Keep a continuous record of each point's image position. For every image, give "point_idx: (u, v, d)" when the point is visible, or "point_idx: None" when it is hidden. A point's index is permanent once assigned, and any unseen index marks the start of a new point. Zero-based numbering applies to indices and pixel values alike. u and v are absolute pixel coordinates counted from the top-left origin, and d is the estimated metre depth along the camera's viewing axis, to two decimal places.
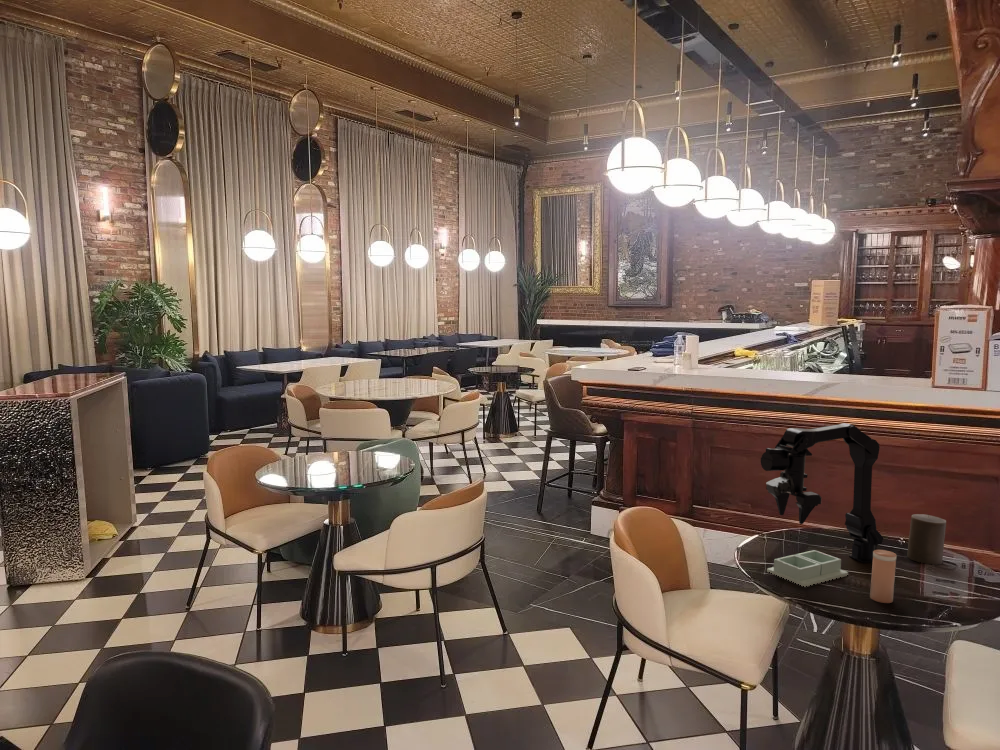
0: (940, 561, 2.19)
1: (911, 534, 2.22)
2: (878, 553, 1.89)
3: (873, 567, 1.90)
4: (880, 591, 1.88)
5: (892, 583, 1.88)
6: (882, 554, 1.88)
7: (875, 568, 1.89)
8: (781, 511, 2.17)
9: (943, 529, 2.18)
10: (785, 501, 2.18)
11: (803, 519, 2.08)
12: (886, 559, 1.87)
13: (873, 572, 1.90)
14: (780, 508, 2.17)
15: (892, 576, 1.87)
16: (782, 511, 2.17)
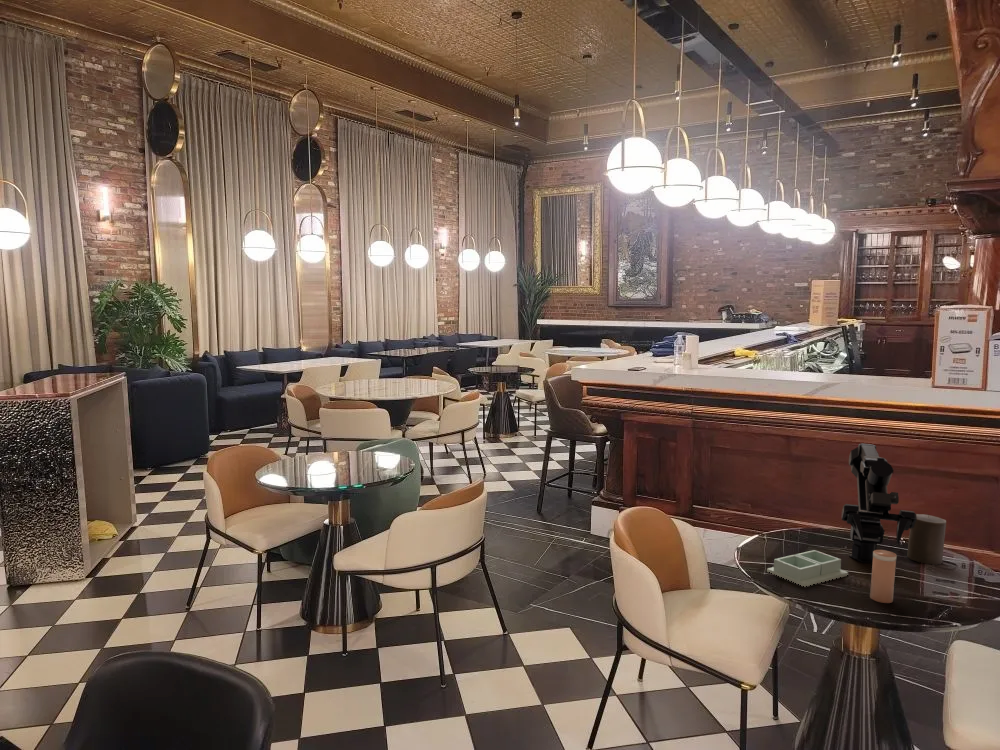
0: (940, 561, 2.19)
1: (911, 534, 2.22)
2: (878, 553, 1.89)
3: (873, 567, 1.90)
4: (880, 591, 1.88)
5: (892, 583, 1.88)
6: (882, 554, 1.88)
7: (875, 568, 1.89)
8: None
9: (943, 529, 2.18)
10: None
11: None
12: (886, 559, 1.87)
13: (873, 572, 1.90)
14: (862, 532, 1.99)
15: (892, 576, 1.87)
16: None
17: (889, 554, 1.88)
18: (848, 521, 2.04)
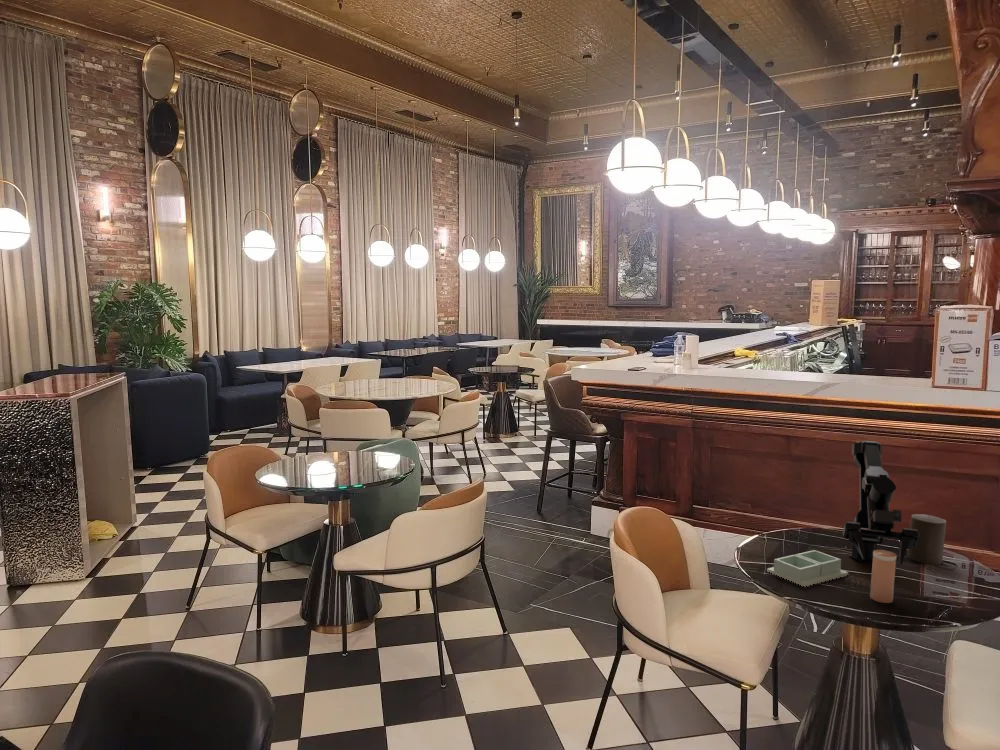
0: (940, 562, 2.19)
1: None
2: (878, 553, 1.89)
3: (873, 567, 1.90)
4: (880, 591, 1.88)
5: (892, 583, 1.88)
6: (882, 554, 1.88)
7: (875, 568, 1.89)
8: None
9: (943, 529, 2.18)
10: None
11: None
12: (886, 559, 1.87)
13: (873, 572, 1.90)
14: (864, 550, 1.94)
15: (892, 576, 1.87)
16: None
17: (889, 554, 1.88)
18: (850, 540, 2.00)
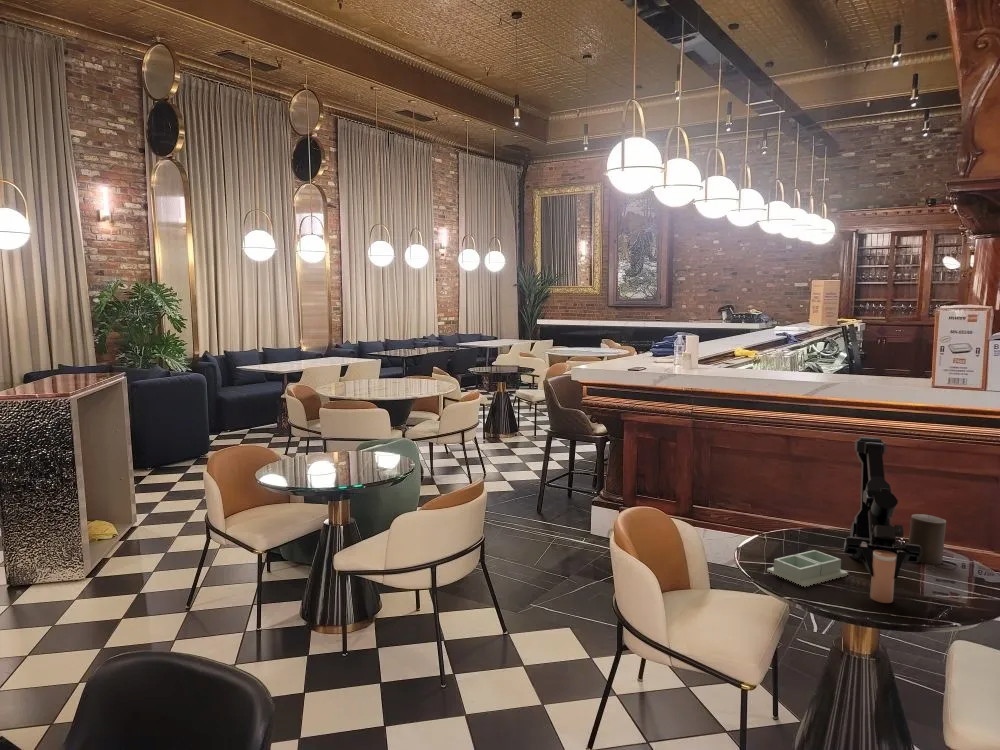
0: (940, 561, 2.19)
1: (911, 534, 2.22)
2: (878, 553, 1.89)
3: (873, 567, 1.90)
4: (880, 591, 1.88)
5: (892, 583, 1.88)
6: (882, 554, 1.88)
7: (875, 568, 1.89)
8: None
9: (943, 529, 2.18)
10: None
11: None
12: (886, 559, 1.87)
13: (873, 572, 1.90)
14: None
15: (892, 576, 1.87)
16: None
17: (889, 554, 1.88)
18: (857, 555, 1.96)
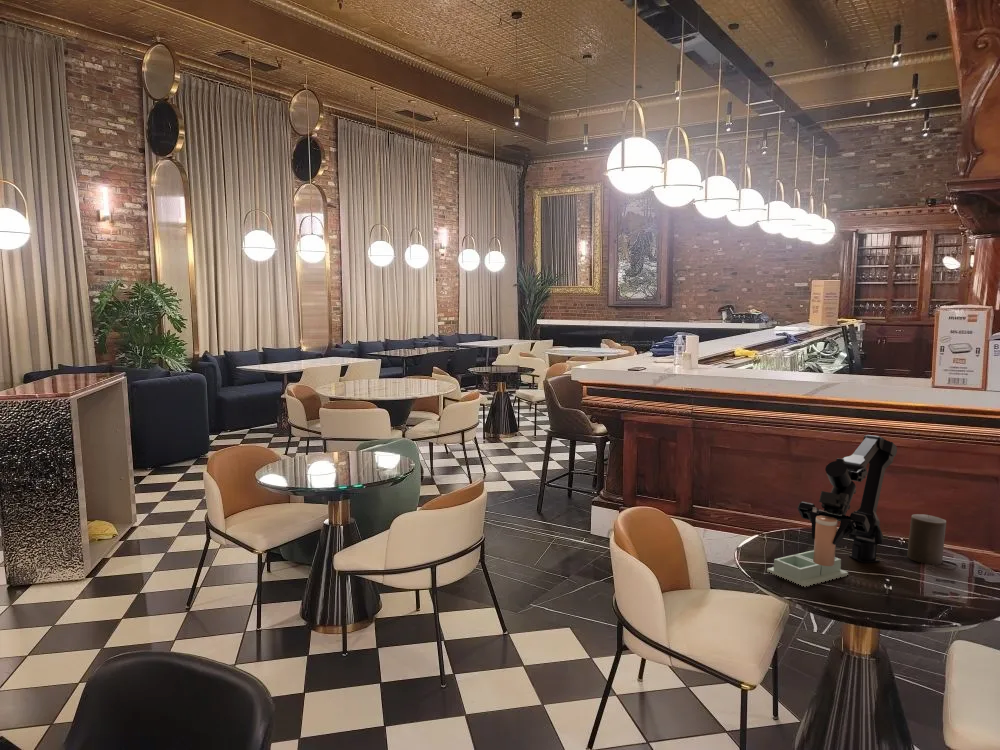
0: (940, 562, 2.19)
1: (911, 534, 2.22)
2: (819, 517, 1.98)
3: (815, 531, 1.99)
4: (817, 553, 1.97)
5: (830, 547, 1.95)
6: (821, 518, 1.97)
7: (815, 531, 1.98)
8: (814, 534, 1.99)
9: (943, 529, 2.18)
10: None
11: (838, 540, 1.95)
12: (822, 523, 1.95)
13: (815, 535, 1.99)
14: None
15: (829, 540, 1.95)
16: (814, 535, 1.99)
17: (829, 519, 1.96)
18: (811, 521, 2.05)
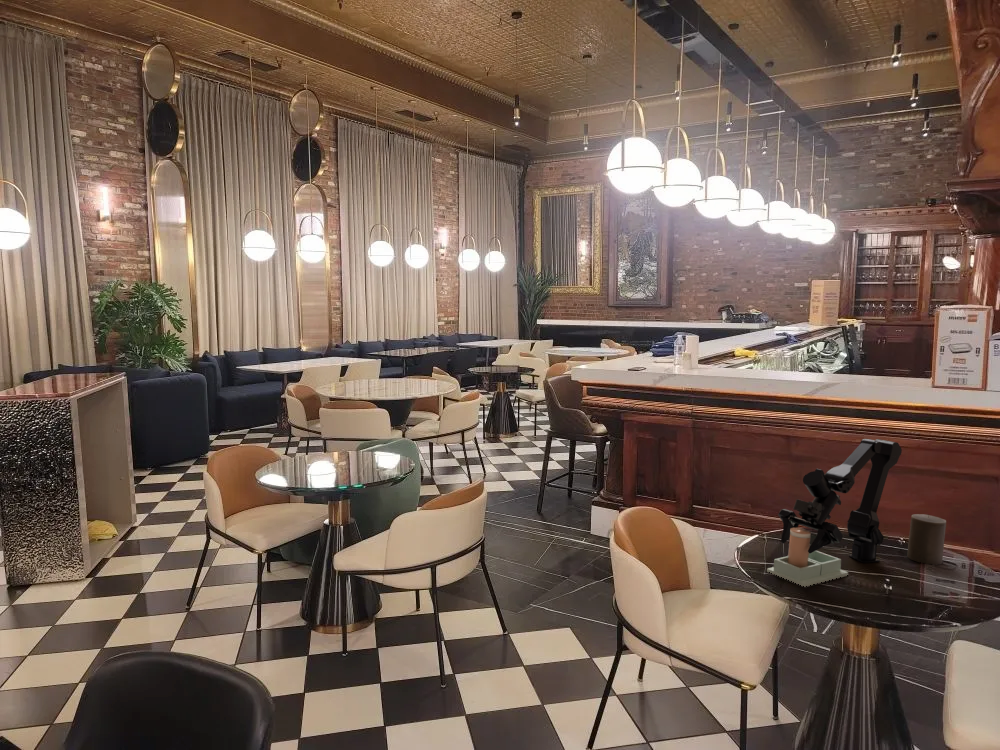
0: (940, 561, 2.19)
1: (911, 534, 2.22)
2: (793, 529, 2.05)
3: None
4: (789, 563, 2.04)
5: (800, 558, 2.02)
6: (795, 530, 2.04)
7: (789, 542, 2.05)
8: (784, 539, 2.08)
9: (943, 529, 2.18)
10: None
11: (813, 549, 2.00)
12: (794, 534, 2.02)
13: None
14: (785, 536, 2.08)
15: (800, 552, 2.02)
16: (784, 540, 2.08)
17: (802, 532, 2.03)
18: None
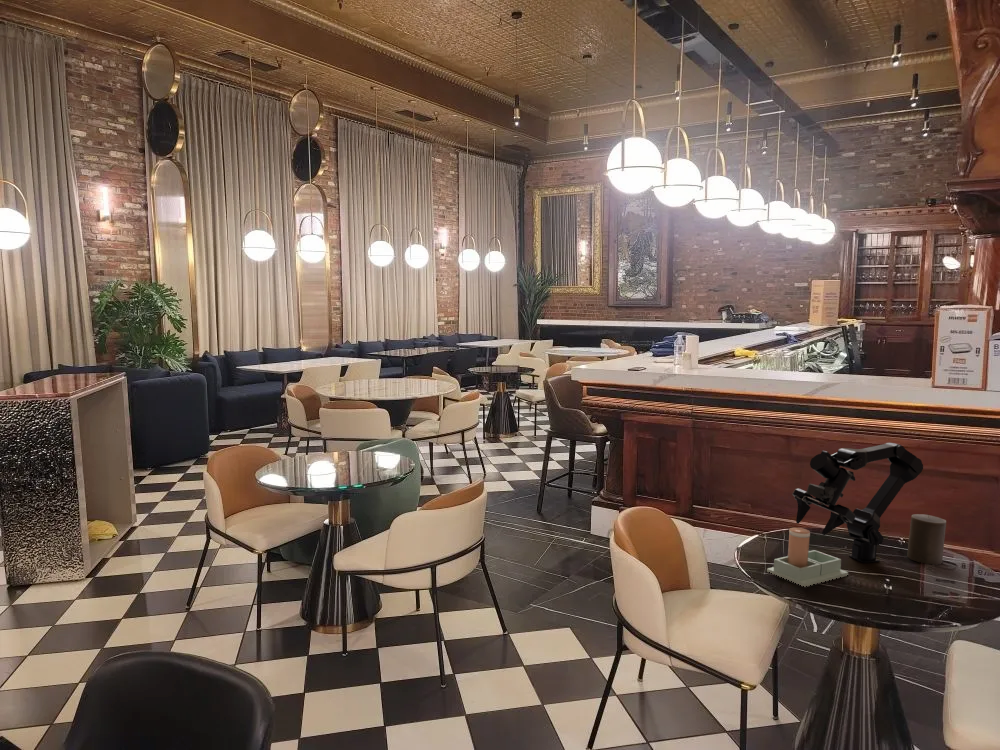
0: (940, 562, 2.19)
1: (911, 534, 2.22)
2: (792, 529, 2.05)
3: None
4: (789, 563, 2.04)
5: (800, 558, 2.02)
6: (794, 530, 2.04)
7: None
8: (799, 519, 2.16)
9: (943, 529, 2.18)
10: (804, 512, 2.18)
11: (827, 531, 2.08)
12: (793, 534, 2.03)
13: None
14: (799, 516, 2.17)
15: (799, 551, 2.02)
16: (799, 520, 2.17)
17: (801, 531, 2.03)
18: None
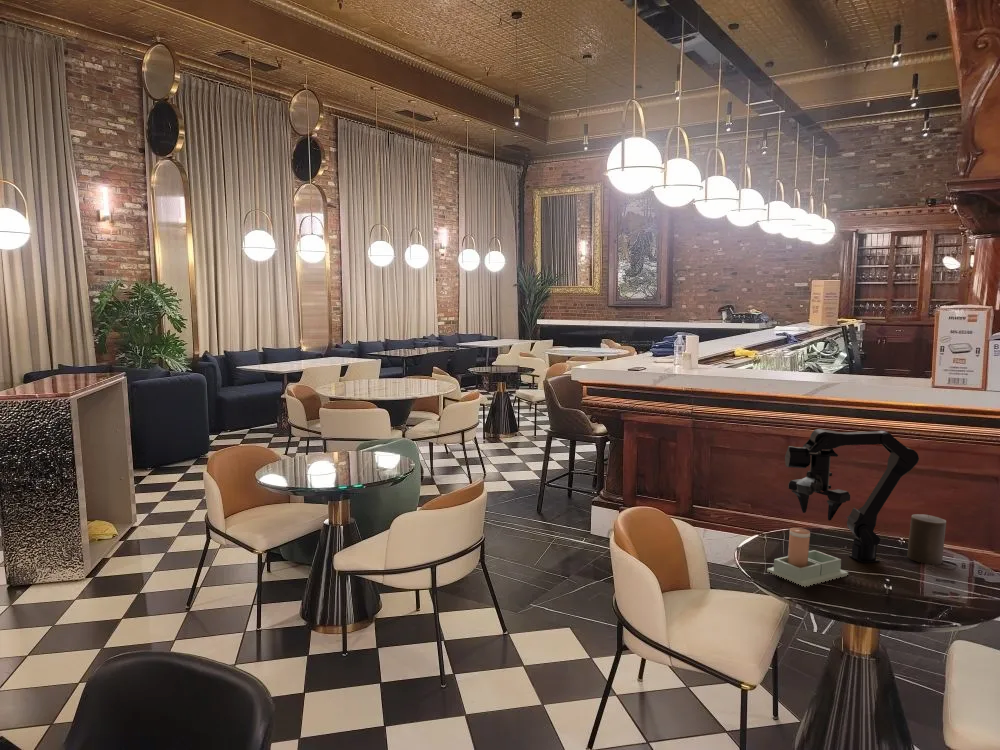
0: (940, 562, 2.19)
1: (911, 534, 2.22)
2: (792, 529, 2.05)
3: None
4: (789, 563, 2.04)
5: (800, 558, 2.02)
6: (794, 530, 2.04)
7: None
8: (804, 509, 2.26)
9: (943, 529, 2.18)
10: (806, 499, 2.27)
11: (832, 516, 2.18)
12: (793, 534, 2.03)
13: None
14: (803, 506, 2.26)
15: (800, 552, 2.02)
16: (805, 509, 2.26)
17: (801, 531, 2.03)
18: None
